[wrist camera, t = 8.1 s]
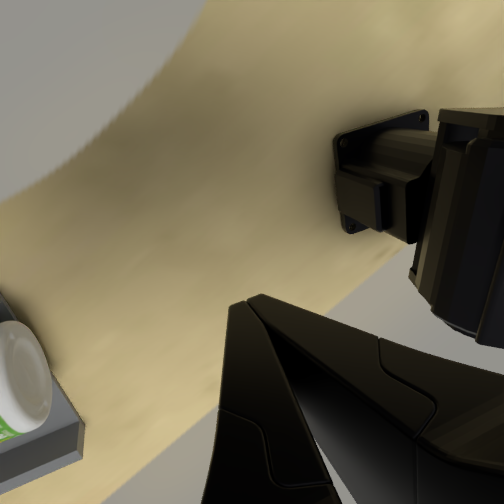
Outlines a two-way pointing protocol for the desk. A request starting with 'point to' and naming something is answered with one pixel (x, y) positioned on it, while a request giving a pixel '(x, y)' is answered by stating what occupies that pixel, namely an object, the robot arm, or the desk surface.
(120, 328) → the desk surface
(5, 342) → the supplement bottle
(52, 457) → the tray
